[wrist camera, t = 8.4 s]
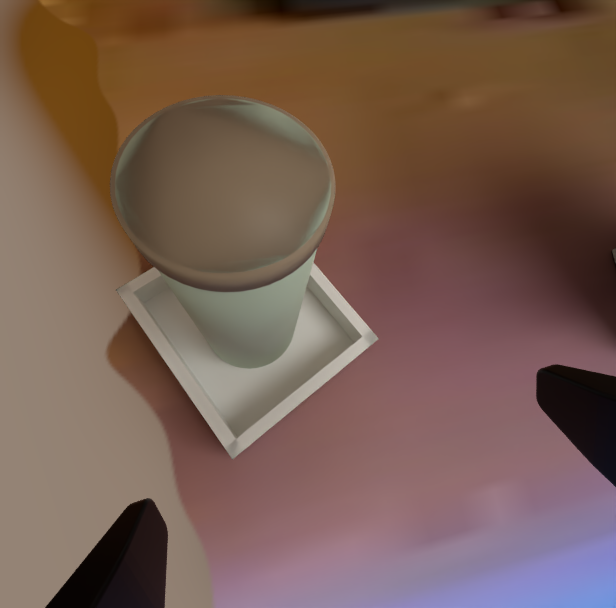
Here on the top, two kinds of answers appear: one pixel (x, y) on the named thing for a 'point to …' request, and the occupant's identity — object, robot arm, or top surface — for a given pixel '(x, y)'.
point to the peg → (228, 216)
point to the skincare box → (614, 254)
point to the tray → (256, 381)
